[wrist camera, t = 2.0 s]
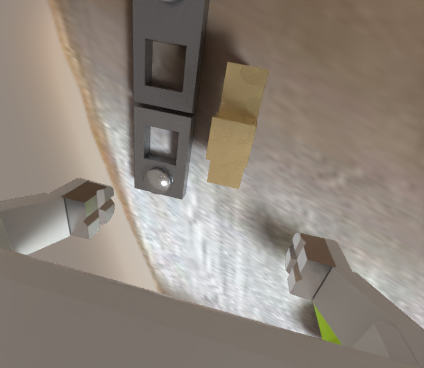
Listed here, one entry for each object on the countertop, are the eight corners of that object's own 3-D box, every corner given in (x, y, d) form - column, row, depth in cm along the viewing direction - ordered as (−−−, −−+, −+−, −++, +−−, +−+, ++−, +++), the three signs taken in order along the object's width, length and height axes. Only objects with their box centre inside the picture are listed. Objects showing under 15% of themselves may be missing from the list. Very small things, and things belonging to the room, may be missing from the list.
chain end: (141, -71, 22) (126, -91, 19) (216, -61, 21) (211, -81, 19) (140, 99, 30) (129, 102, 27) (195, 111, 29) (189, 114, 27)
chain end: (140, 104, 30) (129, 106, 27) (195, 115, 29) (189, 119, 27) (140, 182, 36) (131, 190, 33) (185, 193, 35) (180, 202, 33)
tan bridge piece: (233, 65, 26) (221, 58, 17) (266, 71, 26) (272, 67, 16) (215, 162, 32) (199, 197, 23) (241, 168, 32) (236, 206, 22)
